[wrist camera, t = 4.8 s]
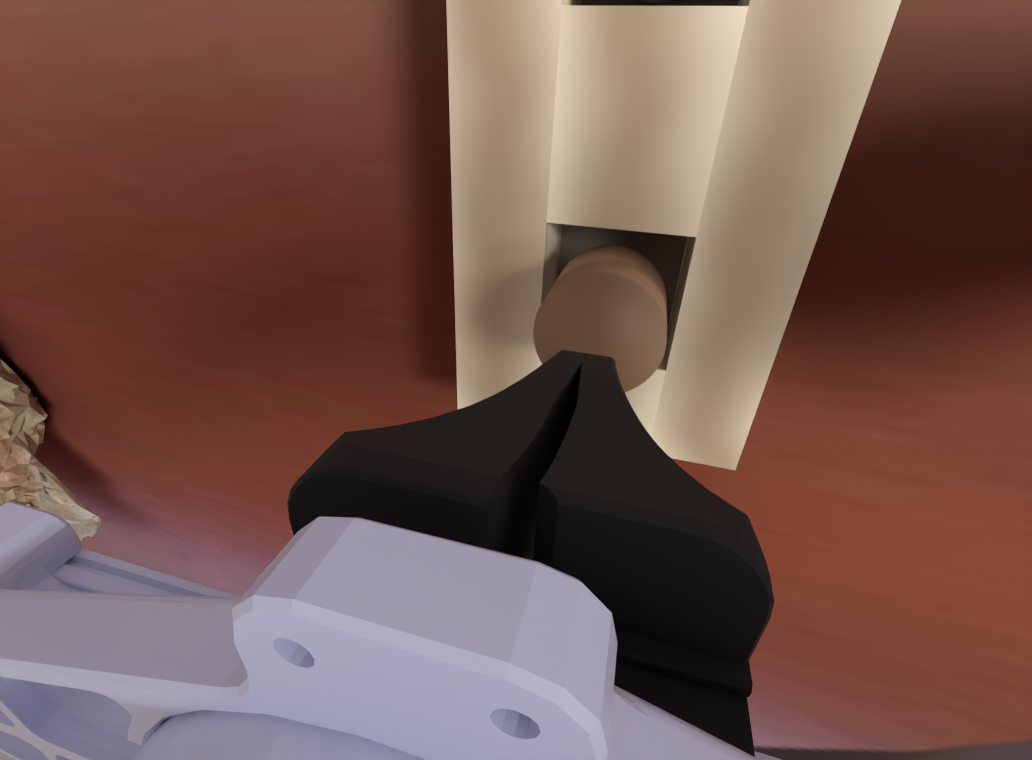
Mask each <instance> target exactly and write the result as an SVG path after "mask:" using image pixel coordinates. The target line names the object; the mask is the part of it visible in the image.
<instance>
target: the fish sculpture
mask: <svg viewBox="0 0 1032 760" xmlns="http://www.w3.org/2000/svg"><path fill="white" fill-rule="evenodd" d="M37 399H38V398H35V397H34V396H33V394H32V393H31V389H30V388H29V387H28V386H27V385H26V384H25V383H24V382H23V381H22V380H21V379H20V378H19V376H18V375H17V374H16V373H15V372H14V371H13V370H12V369H11V368H10V367H9V366H8V365H7V364H5V363H4V362H3V361H2V360H1V359H0V506H1V505H3V504H5V503H6V502H15V503H19V504H22V505H26V506H29V507H33V508H36V509H40V510H43V511H47V512H50V513H53V514H56V515H58V516H60V517H61V518H63V519H64V520H65V521H67V522H68V523H69V524H70V525H71V526H72V528H73V529H74V530H75V532H76V533H77V535H78V537H79V539H80V541H82V538H83V537H86V536H90V537H92V538H93V535H94V534H95V533H96V531H97V529H98V527H99V525H100V523H101V521H102V520H101V519H100V518H99V517H98V516H97V515H96V514H95V513H94V512H92V511H91V510H90V509H89V508H88V507H87V506H86V505H85V504H84V503H83V502H82V501H80V500H79V499H78V498H77V497H76V496H75V495H74V494H73V493H72V492H71V491H70V490H68V489H67V488H66V487H65V486H64V485H63V484H62V483H61V482H60V481H59V480H58V479H57V478H56V476H55V475H54V474H53V473H52V472H51V471H49V470H48V469H47V468H46V467H45V466H44V465H42V464H41V463H40V462H39V461H38V460H37V459H36V458H35V457H34V456H35V453H36V450H37V447H38V445H39V444H41V443H43V442H44V441H43V438H44V431H45V424H44V420H45V419H46V417H47V416H48V415H47V414H46V412H45V411H44V409H43V408H42V406H41V405H40V404H39V402H38V401H37ZM47 491H48V492H49V494H48V493H47ZM92 516H97V517H94V518H93V517H92Z"/></svg>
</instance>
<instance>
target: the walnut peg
mask: <svg viewBox="0 0 1032 760" xmlns="http://www.w3.org/2000/svg"><path fill="white" fill-rule="evenodd" d="M533 338H534V345H535V349H536V352H537V354H538V357H539V359H540V361H541V363H542V364H543V363H545V362H546V361H547V360H549V359H550V358H551V357H553V356H554V355H555V354H557V353H558V352H560V351H561V350H568V351H575V352H581V353H588V354H595V355H601V356H608V357H612V358H613V359H614V361H615V362H616V370H617V374H618V377H619V380H620V383H621V385H622V388H623V390H624V392H627V391H630V390H632V389H634V388H636V387H638V386H639V385H641V384H642V383H644V382H645V381H646V380H647V379H649V378H650V377H651V376H652V374H653V373H654V372H655V371H656V370H657V368H658V366H659V365H660V363H661V361H662V359H663V357H664V353H665V350H666V344H667V300H666V288H665V284H664V281H663V278H662V276H661V274H660V272H659V271H658V269H657V268H656V266H655V265H654V264H653V263H652V262H651V261H650V260H649V259H648V258H647V257H646V256H644V255H642V254H641V253H639V252H637V251H635V250H633V249H631V248H627V247H624V246H618V245H602V246H597V247H593V248H590V249H588V250H585V251H584V252H582V253H580V254H578V255H577V256H575V257H574V258H573V259H572V260H571V261H570V262H569V263H568V264H567V265H566V266H565V267H564V269H563V270H562V272H561V274H560V275H559V277H558V278H557V280H556V282H555V283H554V285H553V286H552V288H551V290H550V291H549V293H548V295H547V296H546V298H545V299H544V301H543V303H542V304H541V306H540V308H539V310H538V312H537V314H536V318H535V321H534V328H533Z"/></svg>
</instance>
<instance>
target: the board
mask: <svg viewBox="0 0 1032 760" xmlns="http://www.w3.org/2000/svg"><path fill="white" fill-rule="evenodd" d="M900 3H901V0H674V1H669V2H665V3H648V2H644V1H640V0H446V6H447V42H448V78H449V114H450V150H451V186H452V223H453V259H454V295H455V331H456V367H457V403H458V409H461V408H464V407H467V406H470V405H472V404H475V403H477V402H479V401H481V400H484V399H486V398H488V397H490V396H492V395H494V394H496V393H498V392H500V391H502V390H504V389H506V388H507V387H509V386H511V385H512V384H514V383H516V382H517V381H519V380H521V379H522V378H524V377H525V376H527V375H528V374H530V373H531V372H532V371H534V370H535V369H537V368H538V367H539V366H541V365H542V363H541V361H540V359H539V357H538V354H537V352H536V349H535V345H534V338H533V328H534V321H535V318H536V314H537V312H538V310H539V308H540V306H541V304H542V303H543V301H544V299H545V298H546V296H547V295H548V293H549V291H550V290H551V288H552V286H553V285H554V283H555V282H556V280H557V278H558V277H559V275H560V274H561V272H562V270H563V269H564V267H565V266H566V265H567V264H568V263H569V262H570V261H571V260H572V259H573V258H574V257H575V256H577V255H578V254H580V253H582V252H584V251H585V250H588V249H590V248H593V247H597V246H602V245H618V246H624V247H627V248H631V249H633V250H635V251H637V252H639V253H641V254H642V255H644V256H646V257H647V258H648V259H649V260H650V261H651V262H652V263H653V264H654V265H655V266H656V268H657V269H658V271H659V272H660V274H661V276H662V278H663V281H664V284H665V288H666V300H667V344H666V350H665V353H664V357H663V359H662V361H661V363H660V365H659V366H658V368H657V370H656V371H655V372H654V373H653V374H652V376H651V377H650V378H649V379H647V380H646V381H645V382H644V383H642V384H641V385H639V386H638V387H636V388H634V389H632V390H630V391H627V392H625V394H626V396H627V398H628V401H629V403H630V404H631V406H632V408H633V410H634V412H635V413H636V415H637V417H638V418H639V420H640V422H641V423H642V425H643V426H644V428H645V429H646V431H647V432H648V433H649V435H650V436H651V437H652V438H653V440H654V441H655V442H656V443H657V444H658V446H659V447H660V448H661V449H662V450H663V451H664V452H665V453H666V454H667V455H668V456H669V457H670V458H674V459H679V460H684V461H689V462H695V463H700V464H705V465H710V466H716V467H721V468H726V469H731V470H736V467H737V464H738V461H739V458H740V456H741V453H742V450H743V447H744V444H745V441H746V439H747V436H748V433H749V430H750V427H751V424H752V422H753V419H754V416H755V413H756V410H757V407H758V405H759V402H760V399H761V396H762V393H763V390H764V388H765V385H766V382H767V379H768V376H769V373H770V371H771V368H772V365H773V362H774V359H775V356H776V354H777V351H778V348H779V345H780V342H781V339H782V337H783V334H784V331H785V328H786V325H787V322H788V320H789V317H790V314H791V311H792V308H793V305H794V303H795V300H796V297H797V294H798V291H799V289H800V286H801V283H802V280H803V277H804V274H805V272H806V269H807V266H808V263H809V260H810V257H811V255H812V252H813V249H814V246H815V243H816V240H817V238H818V235H819V232H820V229H821V226H822V223H823V221H824V218H825V215H826V212H827V209H828V206H829V204H830V201H831V198H832V195H833V192H834V189H835V187H836V184H837V181H838V178H839V175H840V172H841V170H842V167H843V164H844V161H845V158H846V155H847V153H848V150H849V147H850V144H851V141H852V138H853V136H854V133H855V130H856V127H857V124H858V121H859V119H860V116H861V113H862V110H863V107H864V104H865V102H866V99H867V96H868V93H869V90H870V87H871V85H872V82H873V79H874V76H875V73H876V71H877V68H878V65H879V62H880V59H881V56H882V54H883V51H884V48H885V45H886V42H887V39H888V37H889V34H890V31H891V28H892V25H893V22H894V20H895V17H896V14H897V11H898V8H899V5H900Z"/></svg>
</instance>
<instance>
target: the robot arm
mask: <svg viewBox="0 0 1032 760" xmlns="http://www.w3.org/2000/svg"><path fill="white" fill-rule="evenodd" d="M287 503H288V511H289V519H290V523H291V527H292V530H293V534H294V536H293V538H292V539H291V540H290V541H289V542H288V543H287V545H286V546H285V547H284V548H283V549H282V550H281V552H280V553H279V554H278V555H277V556H276V557H275V559H274V560H273V561H272V562H271V563H270V564H269V566H268V567H267V568H266V569H265V570H264V571H263V573H262V574H261V575H260V576H259V577H258V578H257V580H256V581H255V582H254V583H253V584H252V585H251V586H250V588H249V589H248V590H247V591H246V592H245V593H244V595H243V596H242V597H241V596H238V595H234V594H231V593H228V592H225V591H221V590H218V589H215V588H211V587H208V586H205V585H201V584H198V583H195V582H191V581H188V580H185V579H181V578H178V577H175V576H171V575H168V574H165V573H162V572H158V571H155V570H152V569H148V568H145V567H142V566H138V565H135V564H132V563H128V562H125V561H122V560H118V559H115V558H112V557H108V556H105V555H102V554H99V553H95V552H92V551H89V550H85V549H82V543H81V541H80V539H79V537H78V535H77V533H76V532H75V530H74V529H73V528H72V526H71V525H70V524H69V523H68V522H67V521H65V520H64V519H63V518H61V517H60V516H58V515H56V514H53V513H50V512H47V511H43V510H40V509H36V508H33V507H29V506H26V505H22V504H19V503H15V502H6V503H5V504H3V505H1V506H0V751H1V752H2V753H4V754H6V755H8V756H10V757H12V758H14V759H16V760H781V759H778V758H775V757H772V756H768V755H765V754H762V753H758V752H755V751H754V745H753V738H752V731H751V724H750V717H749V710H748V703H747V697H749V696H750V694H751V692H752V679H751V672H750V666H749V659H750V657H751V655H752V653H753V651H754V649H755V647H756V645H757V643H758V641H759V639H760V637H761V635H762V633H763V631H764V629H765V627H766V625H767V623H768V621H769V619H770V616H771V612H772V608H773V605H774V597H773V592H772V585H771V579H770V574H769V571H768V567H767V564H766V560H765V558H764V555H763V552H762V550H761V547H760V545H759V542H758V540H757V537H756V535H755V532H754V530H753V527H752V525H751V522H750V520H749V518H748V516H747V515H746V514H744V513H743V512H741V511H740V510H738V509H737V508H735V507H734V506H732V505H730V504H729V503H727V502H726V501H724V500H723V499H721V498H720V497H718V496H717V495H715V494H714V493H712V492H711V491H709V490H708V489H706V488H705V487H704V486H703V485H701V484H700V483H699V482H698V481H696V480H695V479H694V478H692V477H691V476H690V475H689V474H687V473H686V472H685V471H684V470H683V469H682V468H681V467H679V466H678V465H677V464H676V463H675V462H674V461H673V460H672V459H671V458H670V457H669V456H668V455H667V454H666V453H665V452H664V451H663V450H662V449H661V448H660V447H659V446H658V444H657V443H656V442H655V441H654V440H653V438H652V437H651V436H650V435H649V433H648V432H647V431H646V429H645V428H644V426H643V425H642V423H641V422H640V420H639V418H638V417H637V415H636V413H635V412H634V410H633V408H632V406H631V404H630V403H629V401H628V398H627V396H626V394H625V392H624V390H623V388H622V385H621V383H620V380H619V377H618V374H617V370H616V362H615V361H614V359H613V358H612V357H608V356H601V355H595V354H588V353H581V352H575V351H568V350H561V351H560V352H558V353H557V354H555V355H554V356H553V357H551V358H550V359H549V360H547V361H546V362H545V363H543V364H542V365H541V366H539V367H538V368H537V369H535V370H534V371H532V372H531V373H530V374H528V375H527V376H525V377H524V378H522V379H521V380H519V381H517V382H516V383H514V384H512V385H511V386H509V387H507V388H506V389H504V390H502V391H500V392H498V393H496V394H494V395H492V396H490V397H488V398H486V399H484V400H481V401H479V402H477V403H475V404H472V405H470V406H467V407H464V408H461V409H458V410H455V411H452V412H449V413H446V414H443V415H440V416H437V417H433V418H429V419H425V420H421V421H417V422H412V423H407V424H402V425H397V426H391V427H384V428H376V429H368V430H360V431H351V432H345V433H344V434H343V435H341V436H340V437H339V438H338V439H337V440H336V441H335V442H334V443H333V444H332V445H331V446H330V447H329V448H328V449H327V450H326V451H325V452H324V453H323V454H322V455H321V456H320V457H319V458H318V459H317V460H316V461H315V462H314V463H313V465H312V466H311V467H310V468H309V469H308V470H307V471H306V472H305V473H304V474H303V475H302V476H301V477H300V478H299V479H298V480H297V482H296V483H295V484H294V485H293V487H292V488H291V490H290V494H289V498H288V502H287Z"/></svg>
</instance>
